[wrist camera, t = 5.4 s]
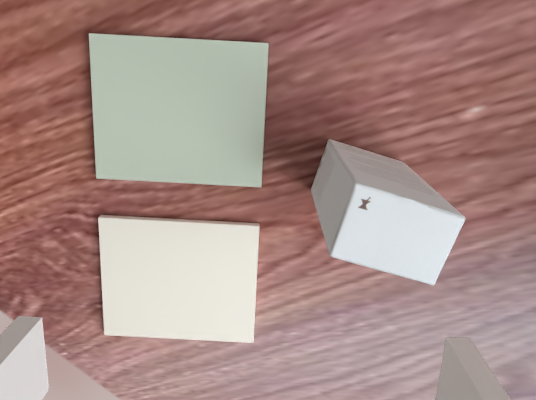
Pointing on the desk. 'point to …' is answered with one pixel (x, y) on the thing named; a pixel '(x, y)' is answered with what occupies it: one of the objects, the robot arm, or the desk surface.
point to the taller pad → (178, 278)
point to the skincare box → (382, 214)
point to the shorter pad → (178, 109)
